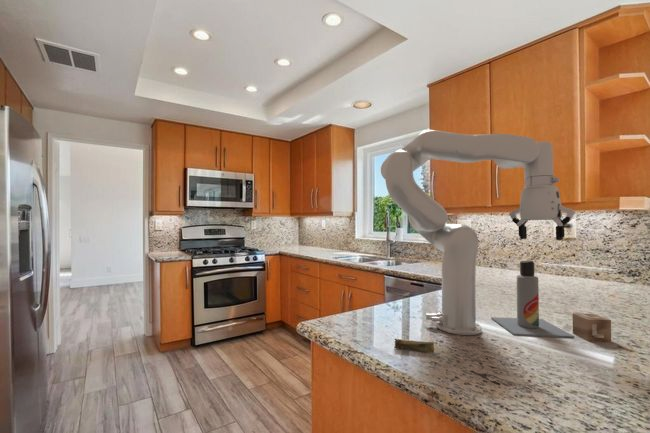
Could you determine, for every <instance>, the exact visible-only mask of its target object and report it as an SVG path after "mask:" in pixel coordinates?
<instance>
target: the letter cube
mask: <svg viewBox="0 0 650 433" xmlns="http://www.w3.org/2000/svg"><path fill="white" fill-rule="evenodd" d="M572 335H573V336H574V335H575V336H577V337H578V338H580V339H582V340H584V341H586V342H596V343H597V342H598V343H612V320H611V319H609V318H606V317H604V316H602V315H598V314H596V313H580V312H579V313H575V312H574V313H572Z"/></svg>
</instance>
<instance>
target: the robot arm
mask: <svg viewBox="0 0 650 433" xmlns="http://www.w3.org/2000/svg"><path fill="white" fill-rule="evenodd" d="M553 151H554V148H553V144H552V143H551V142H550V141H536V139H535V140H534V139H533V138H531V137H529V136H523V135H517V134H509V133H508V134H507V133H496V134H495V133H489V134H487V133H486V134H483V133H482V134H466V133H465V134H464V133H458V132H457V133H456V132H451V131H450V132H449V131H443V130H434V129H427V130H423V131H422V132H420V133H419V134H418V135H417V136H416V137H415V138H414V139H413V140H412V141H410V142H409V143H407V145H405V146H404V147H403V148H401V149H398V150H396V151H393V152H391V153H390V154H389V155H388V156H387V157H386V159H384V161H383V162H382V164H381V166H380V173H381V176H382V178H383V179H384V180H385V186H386V189H387V193H388V195H389V197H390V198H391V200H392V201H393V202H394V203H395V205H396V206H398V207H399V208H400V209H401V210H402V211H403V212H404V213H405V214H406V215H407V216H408V217H407V218H408V222H409V224H410V226H411V227H412V229H414V231H416V232H417V234H419V235H420V236H421V237H423V238H424V239H425V240H426V241H427V242H428V243H430V244H431V245H432V246H433V247H434V248H436V249H437V250H438V251H440V252H443V256H442V261H441V262H442V263H441V309H439V310H438V312H436V313H429V312H427V313H425V319H426V320H427V321H431V322H433V323H435V322H436V327H437V328H438V329H439V330H441V331H443V332H445V333H449V334H454V335H461V336H474V335H475V336H476V335H478V334H480V333H482V332H483V331H482V329H483V328H482V326H481V325H480V324H478V323H477V319H476V316H477V315H476V314H477V313H476V311H477V310H476V308H477V307H476V303H477V300H476V298H477V296H476V288H477V286H476V281H477V280H476V276H477V275H476V269H477V268H476V267H477V255H478V252H479V251H478V249H479V237H478V235H477V232H476V231H475V230H474V229H473V228H472V227H470V226H469V225H466V224H462V223H451V222H450V221H448V220H449V219H448V218H449V216H448V212H447V211H446V209H445V208H444V206H442V205H441V204H440V203H439V202H437V201H436V200H435V199H433V198H432V196H430V195H429V194H428V193H427V192H425V191H424V190H423V188H421V187H420V186H419V185H418V184H417V182H416V181H415V178H414V171H416V170H418V169H419V168H420V167H421V166H422V165H424V164H426V163H427V162H428V161H430V160H437V161H438V160H439V161H446V162H453V163H454V162H455V163H460V164H461V163H462V164H468V163H471V164H472V163H477V162H483V161H493V162H494V164H495V165H496V167H498V168H500V169H503V170H504V169H505V170H509V169H511V170H512V169H516V168H523V177H524V178H523V179H524V180H523V181H524V188H522V190H521V192H520V193H521V195H520V199H519V200H520V201H519V207H518V208H515V209H514V210H512V211H511V212H509V213H508V215H509V217H510V218H511V220H512V222H513V223H515V225H516V226H517V227H518V236H519V239H520V240H527V239H528V236H527V235H528V234H527V233H528V232H527V229H528V228H527V226H526V224H527V223H528V221H553V222H554V223H555V224H556V225H557V226H555V239H556V240H557V241H562V240H564V238H565V235H566V234H565V226H567V224H568V223H569V222H571V221H572V219H573V217H574V215H575V213H576V210H574V209H571V208H568V207H565V206H563V205H562V201H561V193H560V190H559V187H558V186H555V185H556V183H560V181H561V180H560V177H555V174H554V152H553ZM563 213H565V214H566V216H565V217H564V218H562V217H563ZM518 214H519V218H520V219H519V218H518V217H517V215H518Z"/></svg>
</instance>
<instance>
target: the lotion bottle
mask: <svg viewBox="0 0 650 433" xmlns="http://www.w3.org/2000/svg"><path fill="white" fill-rule="evenodd" d="M535 266H536V265H535V262H534V261H533V260H522V261H520V262H519V274H518V275H517V276H516V318H517V324H518V325H519V326H522V327H526V328H538V327H539V319H540V311H539V310H540V308H539V306H540V305H539V304H540V303H539V302H540V301H539V300H540V296H539V295H540V294H539V292H540V291H539V289H540V288H539V277H538V276H536V275H535V270H536V269H535Z"/></svg>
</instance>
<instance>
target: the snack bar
mask: <svg viewBox="0 0 650 433" xmlns="http://www.w3.org/2000/svg"><path fill="white" fill-rule="evenodd" d="M393 347H394V349H395V350H401V351H403V350H404V351H413V352H414V351H415V352H423V353H430V354H432V353H435V343H434V342H433V341H421V340H419V341H418V340H409V339H398V338H394V346H393Z"/></svg>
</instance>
